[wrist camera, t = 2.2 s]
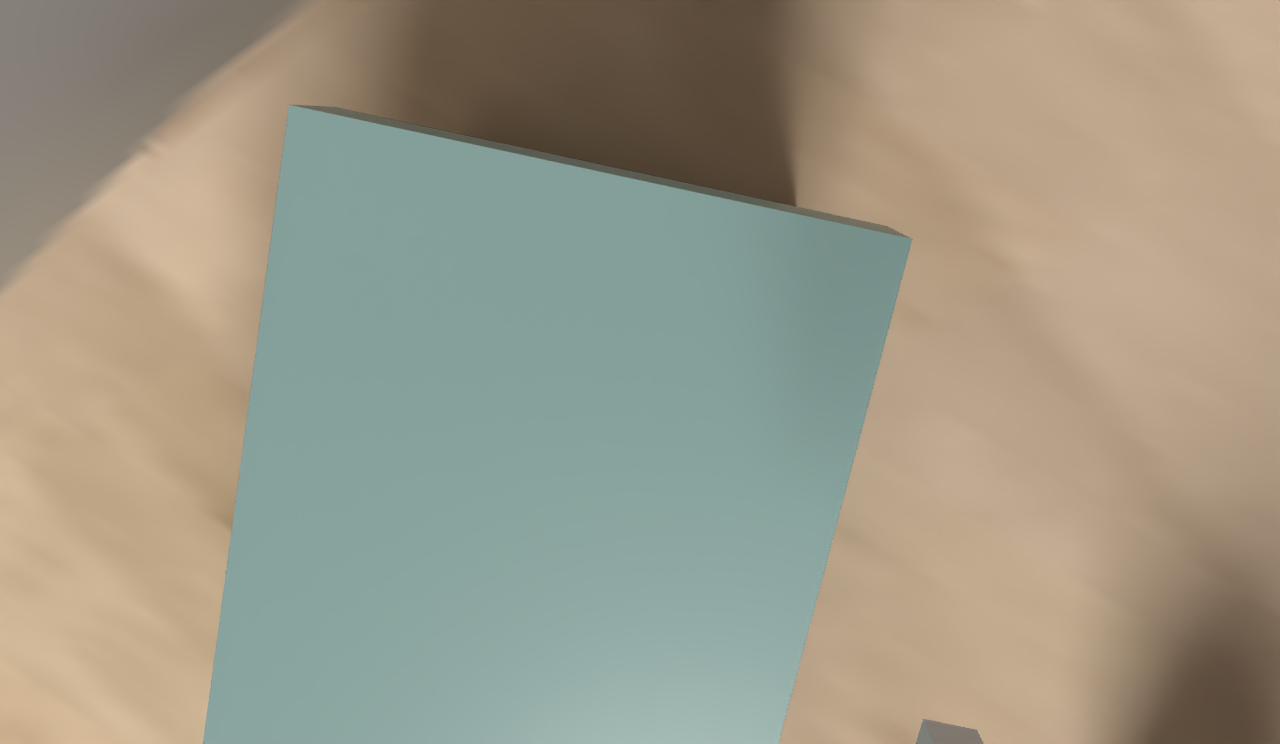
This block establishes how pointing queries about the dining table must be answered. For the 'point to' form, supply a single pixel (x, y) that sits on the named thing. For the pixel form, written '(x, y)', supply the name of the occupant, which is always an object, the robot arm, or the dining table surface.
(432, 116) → the dining table surface
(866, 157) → the dining table surface
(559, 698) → the lid
